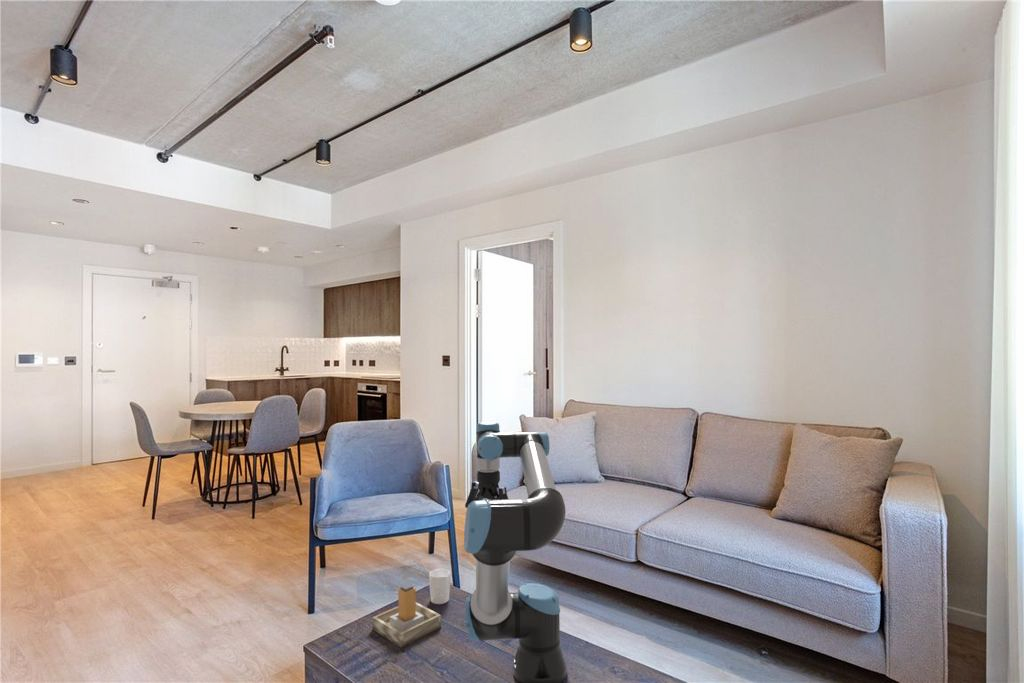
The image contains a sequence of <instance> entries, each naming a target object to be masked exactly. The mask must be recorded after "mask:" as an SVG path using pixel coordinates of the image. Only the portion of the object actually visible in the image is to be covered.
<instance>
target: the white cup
mask: <svg viewBox="0 0 1024 683" xmlns="http://www.w3.org/2000/svg"><path fill="white" fill-rule="evenodd" d="M451 573H452V572H451V571H450V569H447V568H434V569H432V570H430V571H429V574H428V575H429V576H428V578H429V581H428V582H429V593H430V603H432V604H435V605H442V604H443V605H444V604H446V603H447V602H449V601H450V592H451Z"/></svg>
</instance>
